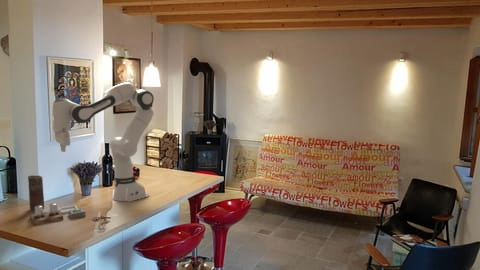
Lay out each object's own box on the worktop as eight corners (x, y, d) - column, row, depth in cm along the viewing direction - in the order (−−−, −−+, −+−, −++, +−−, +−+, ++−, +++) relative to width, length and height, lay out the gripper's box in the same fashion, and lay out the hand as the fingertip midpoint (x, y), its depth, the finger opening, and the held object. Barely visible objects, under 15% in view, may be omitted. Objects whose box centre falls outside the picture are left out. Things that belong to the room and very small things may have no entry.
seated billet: (42, 219, 197) (41, 205, 196) (43, 221, 194) (43, 206, 193) (35, 220, 195) (34, 206, 194) (36, 222, 192) (35, 208, 191)
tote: (75, 207, 216) (75, 205, 216) (78, 211, 210) (78, 209, 210) (58, 210, 211) (58, 208, 211) (61, 214, 204) (61, 212, 204)
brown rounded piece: (31, 208, 214) (29, 174, 212) (45, 206, 217) (43, 173, 214) (28, 212, 207) (26, 177, 205) (43, 211, 210) (41, 177, 207)
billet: (56, 216, 201) (56, 202, 200) (58, 218, 199) (57, 204, 198) (49, 218, 199) (48, 203, 198) (50, 220, 196) (50, 205, 195)
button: (79, 213, 205) (78, 208, 204) (80, 215, 202) (80, 209, 202) (73, 214, 203) (73, 209, 203) (75, 216, 201) (74, 210, 200)
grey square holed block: (82, 213, 208) (82, 208, 207) (85, 216, 202) (85, 211, 202) (68, 215, 203) (68, 210, 203) (71, 219, 198) (71, 214, 198)
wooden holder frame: (58, 213, 206) (58, 209, 205) (63, 220, 196) (63, 216, 196) (30, 219, 197) (30, 214, 197) (33, 226, 188) (33, 221, 188)
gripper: (72, 129, 203) (73, 153, 205) (64, 125, 219) (65, 148, 221) (60, 129, 199) (61, 154, 201) (52, 126, 215) (53, 149, 217)
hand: (63, 151), depth 211 cm, fingers closed
